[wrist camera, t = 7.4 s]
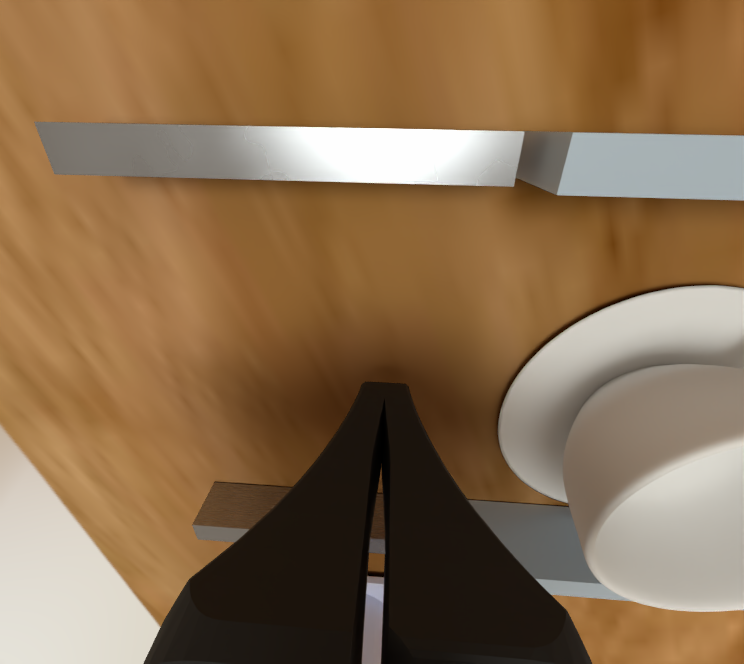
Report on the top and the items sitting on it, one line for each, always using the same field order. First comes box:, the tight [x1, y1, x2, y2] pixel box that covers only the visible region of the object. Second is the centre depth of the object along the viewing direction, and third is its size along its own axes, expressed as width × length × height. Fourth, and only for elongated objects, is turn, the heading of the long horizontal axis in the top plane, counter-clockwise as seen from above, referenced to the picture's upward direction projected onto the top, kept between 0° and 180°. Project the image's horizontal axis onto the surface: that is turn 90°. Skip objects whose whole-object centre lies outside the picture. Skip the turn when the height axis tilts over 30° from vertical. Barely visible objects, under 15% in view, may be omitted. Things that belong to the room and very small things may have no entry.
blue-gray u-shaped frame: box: [468, 131, 744, 610], centre depth 11 cm, size 15×14×3 cm
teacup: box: [498, 285, 744, 612], centre depth 11 cm, size 10×10×5 cm
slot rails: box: [34, 122, 525, 554], centre depth 12 cm, size 15×10×2 cm, turn 179°
